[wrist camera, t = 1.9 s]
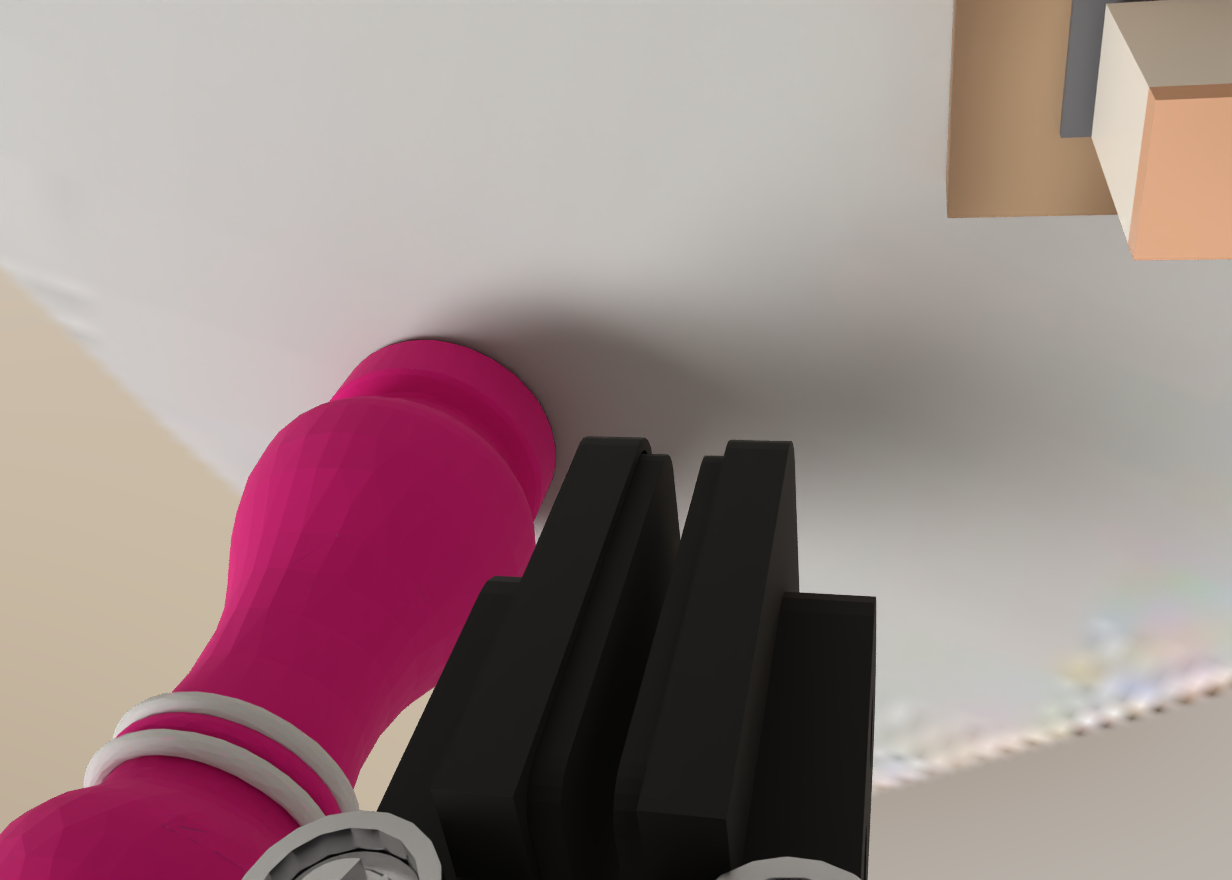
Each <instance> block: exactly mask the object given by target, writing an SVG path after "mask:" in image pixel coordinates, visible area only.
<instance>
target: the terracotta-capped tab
mask: <svg viewBox="0 0 1232 880" xmlns="http://www.w3.org/2000/svg"><path fill="white" fill-rule="evenodd" d="M1091 138H1092V140H1093V143H1094V146H1095V149H1096V152H1097V155H1098V158H1099V161H1100V164H1101V167H1102V170H1103V172H1104V175H1105V178H1106V181H1107V184H1108V187H1109V190H1110V193H1111V196H1112V199H1113V202H1114V205H1115V207H1116V210H1117V213H1118V216H1119V219H1120V222H1121V225H1122V228H1123V231H1124V234H1125V237H1126V239H1127V242H1128V245H1129V248H1130V251H1131V254H1132V257H1133V260H1199V259H1232V0H1158V1H1142V2H1126V3H1109V4H1106V10H1105V19H1104V28H1103V37H1102V46H1101V55H1100V64H1099V73H1098V82H1097V91H1096V100H1095V109H1094V118H1093V127H1092V136H1091Z"/></svg>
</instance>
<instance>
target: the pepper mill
mask: <svg viewBox="0 0 1232 880" xmlns="http://www.w3.org/2000/svg"><path fill="white" fill-rule="evenodd" d="M554 470H555V443H554V438H553V434H552V430H551V426H550V424H549V422H548V419H547V417H546V415H545V413H544V411H543V409H542V408H541V406H540V404H539V402H538V400H537V399H536V398H535V397H534V395H533V394H532V393H531V392H530V391H529V390H528V388H527V387H526V386H525V385H524V384H523V383H522V382H521V380H520V379H519V378H518V377H517V376H516V375H514V374H513V373H512V372H510V371H509V370H507V369H506V368H505V367H503V366H502V365H501V364H499V363H498V362H496V361H495V360H493V359H491V358H489V357H487V356H485V355H483V354H481V353H479V352H477V351H475V350H473V349H471V348H468V347H464V346H460V345H456V344H452V343H448V342H443V341H438V340H414V341H405V342H401V343H397V344H392V345H389V346H387V347H384V348H381V349H380V350H378V351H376V352H374V353H372V354H371V355H369V356H368V357H367V358H366V359H364V360H363V361H362V362H361V363H360V364H359V365H358V366H357V367H356V368H355V369H354V370H353V372H352V373H351V374H350V376H349V377H348V378H347V379H346V381H345V382H344V383H343V385H342V386H341V387H340V388H339V390H338V391H337V392H336V394H335V395H334V396H333V398H332V399H331V400H330V402H328V403H325V404H322V405H319V406H317V407H315V408H313V409H311V410H309V411H307V412H305V413H303V414H301V415H299V416H298V417H297V418H296V419H294V420H293V421H292V422H291V423H289V424H288V425H287V426H286V427H285V428H283V429H282V430H281V431H280V432H279V433H278V434H277V435H276V436H275V438H274V439H273V440H272V441H271V443H270V444H269V445H268V447H267V448H266V450H265V452H264V453H263V455H262V456H261V458H260V460H259V461H258V463H257V464H256V466H255V468H254V469H253V471H252V472H251V474H250V476H249V477H248V480H247V483H246V486H245V489H244V492H243V495H242V498H241V501H240V504H239V507H238V511H237V514H236V518H235V523H234V528H233V533H232V538H231V547H230V559H229V570H228V585H227V593H226V600H225V608H224V611H223V613H222V616H221V619H220V621H219V624H218V627H217V630H216V631H215V633H214V635H213V636H212V638H211V639H210V641H209V643H208V644H207V646H206V647H205V649H204V650H203V652H202V654H201V655H200V657H199V658H198V660H197V662H196V663H195V665H194V666H193V668H192V670H191V671H190V673H189V674H188V675H187V676H186V677H185V678H184V679H183V681H182V682H181V683H180V684H179V685H178V686H177V687H176V688H175V689H174V691H173V692H172V693H165V694H161V695H157V696H154V697H150V698H148V699H147V700H145V701H143V702H141V703H139V704H137V705H135V706H134V707H133V708H131V709H130V710H129V711H128V712H127V713H126V714H125V715H124V716H123V717H122V719H121V720H120V722H119V723H118V725H117V727H116V730H115V733H114V736H113V739H112V740H111V741H109V742H108V743H106V744H105V745H104V746H103V747H102V748H101V749H99V750H98V751H97V752H96V753H95V754H94V756H93V757H92V759H91V761H90V763H89V764H88V767H87V770H86V773H85V777H84V788H82V789H78V790H73V791H69V792H66V793H64V794H61V795H59V796H57V797H54V798H52V799H50V800H48V801H46V802H44V803H42V804H40V805H39V806H37V807H35V808H33V809H31V810H29V811H27V812H26V813H24V814H23V815H21V816H20V817H19V818H17V819H15V820H14V821H13V822H11V823H10V824H9V825H8V826H7V827H6V829H5V830H4V831H3V832H2V833H1V834H0V880H242V878H243V877H244V876H245V874H246V873H247V872H248V871H249V870H250V868H251V867H252V866H253V865H254V864H255V863H256V862H257V861H258V860H259V859H260V857H261V856H262V855H263V854H264V853H265V852H266V851H267V850H268V849H269V848H270V847H271V846H273V845H274V844H276V843H277V842H278V841H280V840H281V839H283V838H284V837H286V836H287V835H288V834H290V833H291V832H293V831H294V830H296V829H297V828H299V827H302V826H304V825H306V824H309V823H311V822H314V821H316V820H318V819H321V818H323V817H326V816H328V815H334V814H340V813H346V812H351V811H357V810H359V805H358V801H357V798H356V796H355V793H354V790H353V789H354V786H355V783H356V781H357V778H358V775H359V772H360V769H361V768H362V766H363V764H364V762H365V761H366V758H367V757H368V755H369V754H370V752H371V750H372V749H373V747H374V745H375V743H376V742H377V740H378V738H379V736H380V735H381V734H382V733H383V732H384V731H385V729H386V728H387V727H388V726H389V725H390V724H391V723H392V722H393V720H394V719H395V718H396V717H397V716H398V715H399V714H400V712H401V711H403V710H404V709H405V708H406V707H407V706H409V705H410V704H411V703H412V702H414V701H415V700H416V699H418V698H419V697H421V696H422V695H424V694H425V693H426V692H428V691H429V690H431V689H432V688H434V687H435V686H436V684H437V682H438V680H439V678H440V676H441V673H442V671H443V669H444V667H445V665H446V663H447V661H448V659H449V656H450V654H451V652H452V650H453V648H454V646H455V644H456V642H457V640H458V637H459V635H460V633H461V631H462V629H463V627H464V625H465V623H466V620H467V618H468V616H469V614H470V612H471V610H472V608H473V606H474V603H475V601H476V599H477V597H478V595H479V593H480V591H481V590H482V588H483V586H484V585H485V583H486V582H487V580H489V579H491V578H492V577H494V576H510V577H522V576H523V574H524V572H525V569H526V567H527V565H528V563H529V560H530V558H531V556H532V553H533V551H534V549H535V546H536V544H535V532H534V524H533V522H534V520H535V518H536V515H537V513H538V511H539V509H540V506H541V504H542V502H543V500H544V498H545V495H546V493H547V491H548V489H549V486H550V484H551V481H552V479H553V475H554Z"/></svg>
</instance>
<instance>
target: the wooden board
mask: <svg viewBox="0 0 1232 880" xmlns="http://www.w3.org/2000/svg"><path fill="white" fill-rule="evenodd" d="M1142 1H1158V0H954V6H953V29H952V53H951V76H950V100H949V123H948V147H947V170H946V193H947V217H948V218H969V217H1018V216H1066V215H1115V214H1118V213H1117V210H1116V207H1115V205H1114V202H1113V199H1112V196H1111V193H1110V190H1109V187H1108V184H1107V181H1106V178H1105V175H1104V172H1103V170H1102V167H1101V164H1100V161H1099V158H1098V155H1097V152H1096V149H1095V146H1094V143H1093V140H1092V138H1091V136H1092V127H1093V118H1094V109H1095V100H1096V91H1097V82H1098V73H1099V64H1100V55H1101V46H1102V37H1103V28H1104V19H1105V10H1106V4H1109V3H1126V2H1142Z"/></svg>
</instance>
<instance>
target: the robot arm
mask: <svg viewBox="0 0 1232 880" xmlns="http://www.w3.org/2000/svg"><path fill="white" fill-rule="evenodd" d="M875 676H876V597H870V596H852V595H834V594H816V593H799V569H798V541H797V513H796V485H795V459H794V448H793V443H792V441H754V440H730V441H728V444H727V446H726V450H725V454H724V456H705V457H704V458H703V460H702V463H701V467H700V471H699V474H698V478H697V482H696V485H695V489H694V493H693V496H692V500H691V504H690V507H689V511H688V515H687V518H686V522H685V526H684V529H683V533H682V537H681V540H680V532H679V522H678V512H677V503H676V493H675V484H674V474H673V466H672V461H671V458H670V456H669V455H665V454H652V452H651V447H650V444H649V442H648V440H647V439H646V438H632V437H591V436H587V437H585V438H583V440H582V441H581V443H580V445H579V447H578V449H577V452H576V454H575V456H574V459H573V461H572V463H571V465H570V468H569V470H568V472H567V475H566V477H565V479H564V482H563V484H562V486H561V489H560V491H559V493H558V496H557V498H556V500H555V502H554V505H553V507H552V509H551V512H550V514H549V516H548V519H547V521H546V523H545V526H544V528H543V530H542V532H541V535H540V537H539V539H538V542H537V544H536V546H535V549H534V551H533V553H532V556H531V558H530V560H529V563H528V565H527V567H526V569H525V572H524V574H523V576H522V577H510V576H494V577H492V578H491V579H489V580H487V582H486V583H485V585H484V586H483V588H482V590H481V591H480V593H479V595H478V597H477V599H476V601H475V603H474V606H473V608H472V610H471V612H470V614H469V616H468V618H467V620H466V623H465V625H464V627H463V629H462V631H461V633H460V635H459V637H458V640H457V642H456V644H455V646H454V648H453V650H452V652H451V654H450V656H449V659H448V661H447V663H446V665H445V667H444V669H443V671H442V673H441V676H440V678H439V680H438V682H437V684H436V686H435V688H434V690H433V693H432V695H431V697H430V699H429V701H428V703H427V705H426V708H425V710H424V712H423V714H422V716H421V718H420V720H419V722H418V725H417V727H416V729H415V731H414V733H413V735H412V737H411V739H410V742H409V744H408V746H407V748H406V750H405V752H404V754H403V756H402V758H401V761H400V763H399V765H398V767H397V769H396V771H395V773H394V775H393V778H392V780H391V782H390V784H389V786H388V788H387V790H386V792H385V795H384V797H383V799H382V801H381V803H380V805H379V807H378V810H377V812H374V811H362V810H357V811H351V812H346V813H340V814H334V815H328V816H326V817H323V818H321V819H318V820H316V821H314V822H311V823H309V824H306V825H304V826H302V827H299V828H297V829H296V830H294V831H293V832H291V833H290V834H288V835H287V836H286V837H284V838H283V839H281V840H280V841H278V842H277V843H276V844H274V845H273V846H271V847H270V848H269V849H268V850H267V851H266V852H265V853H264V854H263V855H262V856H261V857H260V859H259V860H258V861H257V862H256V863H255V864H254V865H253V866H252V867H251V868H250V870H249V871H248V872H247V873H246V874H245V876H244V877H243V878H242V880H867V878H868V856H869V854H868V853H869V835H870V834H869V833H870V813H871V791H872V769H873V745H874V716H875Z"/></svg>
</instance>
